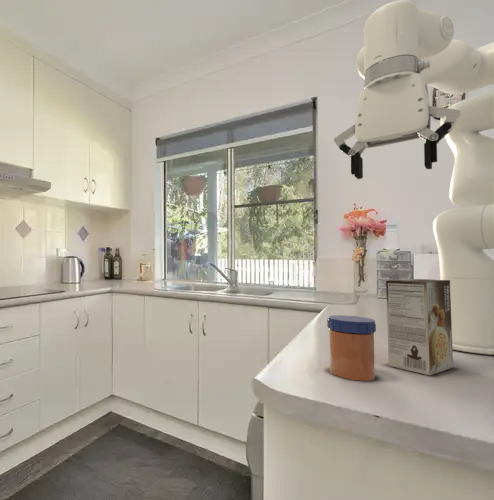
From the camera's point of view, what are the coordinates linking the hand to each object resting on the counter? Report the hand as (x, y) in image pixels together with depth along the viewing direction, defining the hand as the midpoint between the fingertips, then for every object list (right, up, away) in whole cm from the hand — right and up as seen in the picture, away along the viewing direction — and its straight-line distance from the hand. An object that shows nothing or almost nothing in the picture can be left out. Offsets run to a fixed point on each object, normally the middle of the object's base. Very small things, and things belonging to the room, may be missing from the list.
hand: (391, 172), depth 59 cm
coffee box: (+7, -35, +2) cm, 36 cm away
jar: (-8, -35, -1) cm, 36 cm away
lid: (-8, -26, -1) cm, 27 cm away
